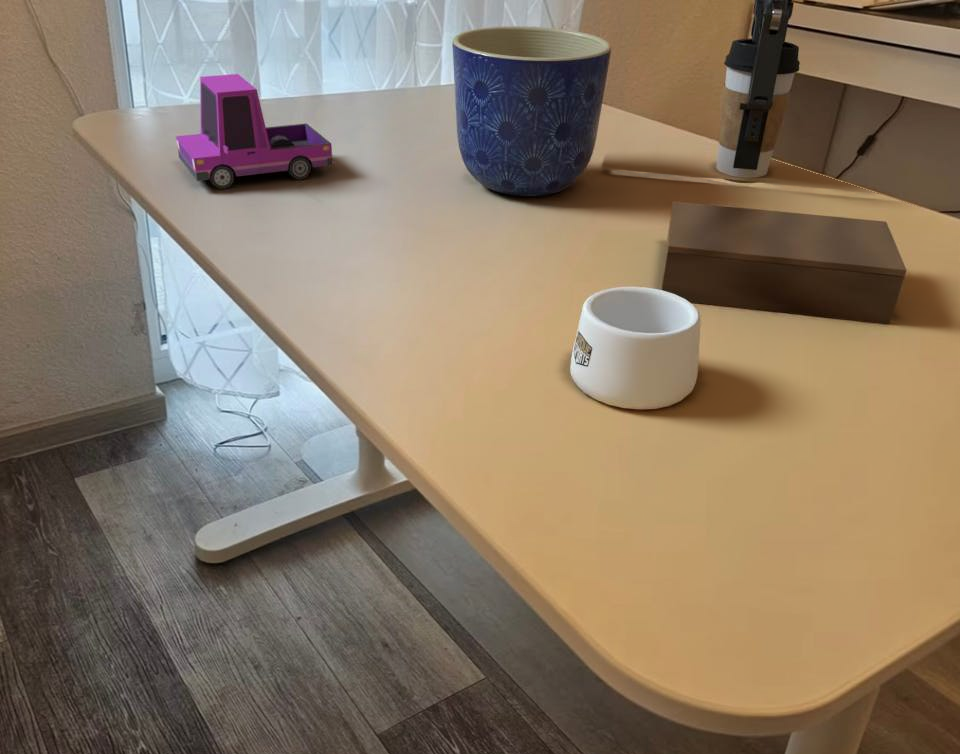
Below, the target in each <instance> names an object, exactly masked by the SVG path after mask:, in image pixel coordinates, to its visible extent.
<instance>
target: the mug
mask: <svg viewBox="0 0 960 754" xmlns="http://www.w3.org/2000/svg"><path fill="white" fill-rule="evenodd" d="M701 326H702V320H701V314H700V311H699V310H698V309H697V307H696V306H695V305H694V304H692V302H688V301H687V300H686V299H684V298H682V297H679V296H677V295H675V294H672V293H669V292H666V291H663V290H661V289H657V288H654V287H653V288H652V287H644V286H618V287H617V286H616V287H612V288H611V287H610V288H607V289H603V290H600V291H597V292H595V293H593V294H591V295H590V296H588V297H587V299H586V300H585V301H584V303H583V305H582V309H581V314H580V317H579V323H578V326H577V327H578V328H577V331H576V336H575V339H574V344H573V348H572V353H571V359H570V368H569V369H570V375H571V378H572V380H573V382H574V383H575V384H576V387H578V388H579V389H580V390H581V391H582V392H583V393H584V394H585V395H587V396H589V397H590V398H592V399H593V400H596V401H598V402H601V403H603V404H606V405H608V406H613V407H617V408H622V409H629V410H656V409H661V408H666V407H670V406H673V405H675V404H677V403H679V402H681V401H682V400H684V399H685V398H686V397H687V396H689V394H691V393H692V392H693V390H694V388H695V385H696V383H697V378H698V374H699V373H698V372H699V357H700V356H699V355H700V340H701Z"/></svg>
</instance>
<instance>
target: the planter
mask: <svg viewBox="0 0 960 754" xmlns="http://www.w3.org/2000/svg"><path fill="white" fill-rule="evenodd" d="M451 43H452V62H453V63H452V64H453V78H454V79H453V81H454V101H455V119H456V134H457V144H458V149H459V152H460V156H461V159H462V162H463V164H464V166H465V168H466V169H467V171H468V172H469V174H470V175H471V176H472V178H474V179H475V181H477V182H478V183H479V184H481V185H482V186H483V187H485V188H487V189H489V190H491V191H494V192H496V193H500V194H505V195H510V196H515V197H517V196H518V197H539V196H540V197H541V196H546V195H551V194H552V195H553V194H555V193H559V192H561V191H563V190H565V189H567V188H568V187H571V186H572V185H573V184H574V183H576V182H577V181H578V180H579V178H580V177H581V176H582V175H583V174H584V172H585V171H586V169H587V167H588V165H589V163H590V162H591V159H592V156H593V154H594V150H595V146H596V142H597V136H598V131H599V125H600V120H601V119H600V118H601V114H602V107H603V101H604V96H605V95H604V94H605V89H606V83H607V78H608V71H609V66H610V61H611V60H610V59H611V55H612V45H611V43H610V42H609V41H607V40H606V39H604V38H602V37H600V36H597V35H593V34H590V33H586V32H582V31H577V30H571V29H563V28H556V27H545V26H544V27H543V26H526V25H525V26H524V25H510V26H508V25H507V26H491V27H490V26H488V27H481V28H475V29H470V30H465V31H462V32H460V33H458V34H456V35H455V36H454V37H453V38H452V41H451Z"/></svg>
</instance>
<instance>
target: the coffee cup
mask: <svg viewBox="0 0 960 754" xmlns="http://www.w3.org/2000/svg"><path fill="white" fill-rule="evenodd" d="M757 50H758V46H757V45H753V42H752V38H740V39H735V40H732V42H731V46H730V49H729V52H728V54H727V55H726V56H725V60H724V63H723V64H724V66H726V74H725V82H724V83H723V84H722V85H723V86H722V98H721V111H720V121H719V122H720V123H719V135H718V136H719V137H718V149H717V158H716V159H717V160H716V169H717V171H718V172H720V173H722V174H725V175H728V176H731V177H738V178H747V179H749V178H751V179H752V178H760V177H764V176H766V175H767V174H768V171H769V166H770V163H771V160H772V157H773V153H774V150H775V147H776V144H777V141H778V137H779V134H780V130H781V127H782V124H783V120H784V117H785V114H786V111H787V108H788V104H789V101H790V97H791V95H792V91H793V90H792V84H793V80H794V77H795V75H796V73H797V72H799V71H800V65H801V63H800V62H801V61H800V60H799V50H800V46H798V45H797V44H796V43H795V44H794V43H792V42H789V41H785V42H784V43H783V46H782V51H781V56H780V62H779V67H778V72H777V78H776V83H775V88H774V93H773V99H772V102H773V105H772V107H771V109H770V110H768V111H769V112H768V117H767V122H766V127H765V132H764V137H763V142H762V147H761V152H760V157H759V161H758V166H757V170H750V169H739V168H733V164H734V158H735V153H736V148H737V142H738V137H739V132H740V126H741V121H742V116H743V110H739V105H740V103H746V102H747V98H748V92H749V86H750V80H751V74H752V70H753V65H754V59H755V55H756V56H757ZM755 97H764V98H766V97H765V96H755ZM724 181H728V182H732V183H737V184H738V183H739V184H756V183H758V181H755V180H753V181H752V180H743V179H742V180H741V179H733V178H732V179H730V178H724Z"/></svg>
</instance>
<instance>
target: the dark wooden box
mask: <svg viewBox="0 0 960 754" xmlns="http://www.w3.org/2000/svg"><path fill="white" fill-rule="evenodd" d="M667 230H668V231H667V237H666V245H665V252H664V258H663V259H664V261H663V267H662V268H663V269H662V277H661V288H660V290H663V291H666V292H669V293H672V294H675V295H677V296H679V297H682V298H684V299H686V300H687V301H688V302H690V303H695V304H703V305H704V304H705V305H713V306H720V307H721V306H722V307H731V308H741V309H749V310H758V311H765V312H766V311H768V312H777V313H787V314H795V315H804V316H813V317H821V318H830V319H841V320H850V321H857V322H866V323H867V322H869V323H878V324H886V325H890V324H891V321H892V318H893V315H894V312H895V309H896V305H897V302H898V300H899V296H900V293H901V290H902V287H903V284H904V281H905V277H906V274H907V268H906V265H905V263H904V261H903V258H902V256H901V253H900V251H899V249H898V247H897V244H896V241H895V239H894V237H893V233H892V232H891V230H890V227H889V225H888V222H887V221H884V220H874V219H863V218H855V217H854V218H853V217H844V216H843V217H842V216H832V215H822V214H810V213H802V212H801V213H800V212H791V211H790V212H789V211H779V210H770V209H769V210H768V209H759V208H758V209H757V208H749V207H748V208H747V207H738V206H725V205H718V204H717V205H716V204H707V203H706V204H705V203H695V202H686V201H685V202H683V201H675V200H674V201H672V205H671V211H670V218H669V223H668V229H667Z"/></svg>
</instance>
